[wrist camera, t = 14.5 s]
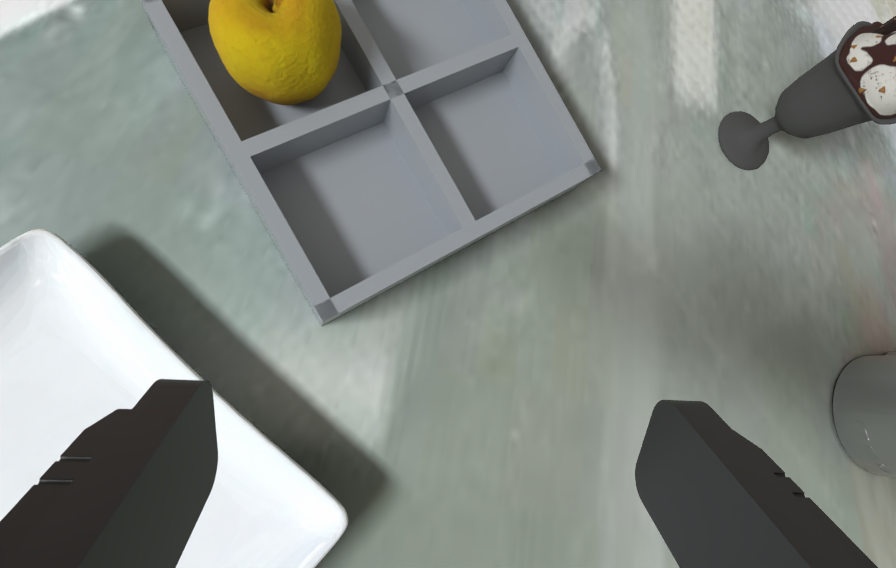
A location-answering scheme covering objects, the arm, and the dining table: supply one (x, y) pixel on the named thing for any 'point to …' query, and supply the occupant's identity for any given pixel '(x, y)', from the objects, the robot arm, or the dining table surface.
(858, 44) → the sundae
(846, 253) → the dining table surface
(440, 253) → the tray
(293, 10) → the apple
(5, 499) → the salad plate
